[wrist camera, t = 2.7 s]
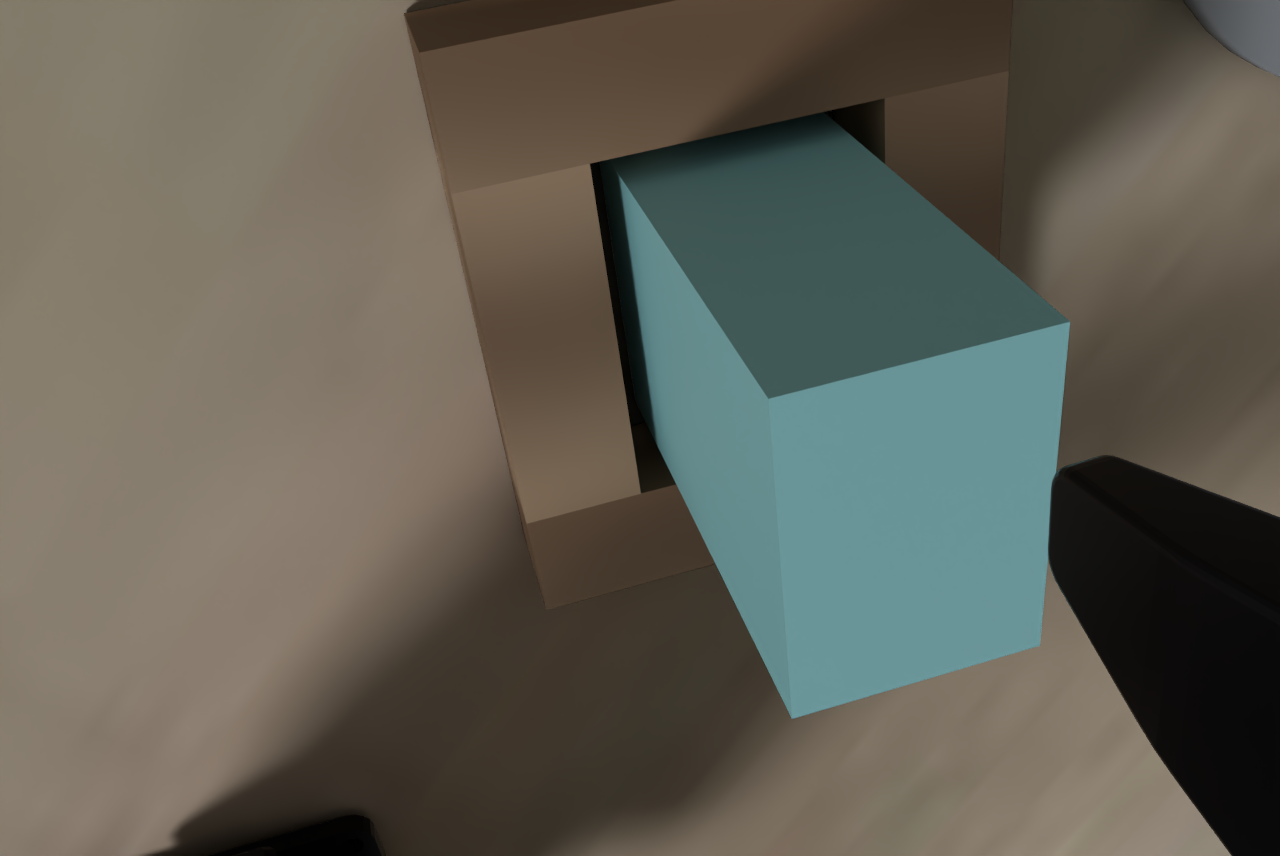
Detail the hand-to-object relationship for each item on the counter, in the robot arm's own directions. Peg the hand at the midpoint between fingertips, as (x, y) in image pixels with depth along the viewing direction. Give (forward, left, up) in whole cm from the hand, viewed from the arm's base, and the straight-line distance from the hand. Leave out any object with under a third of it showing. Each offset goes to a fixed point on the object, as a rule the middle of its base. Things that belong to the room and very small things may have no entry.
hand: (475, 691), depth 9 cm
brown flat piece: (-3, -5, -12) cm, 13 cm away
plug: (-3, -5, -12) cm, 13 cm away
